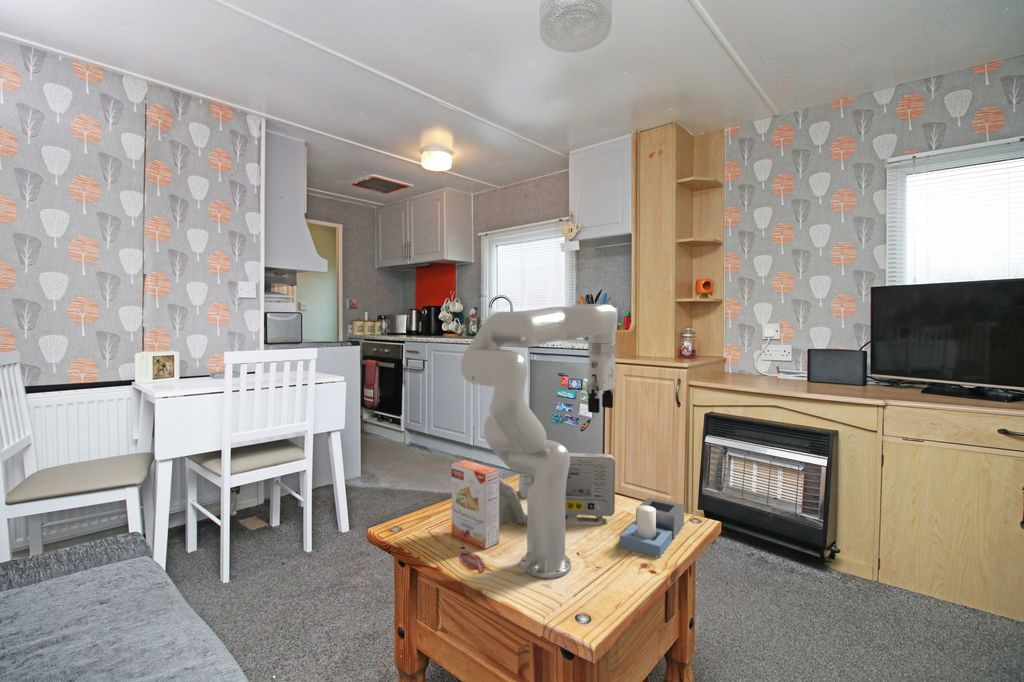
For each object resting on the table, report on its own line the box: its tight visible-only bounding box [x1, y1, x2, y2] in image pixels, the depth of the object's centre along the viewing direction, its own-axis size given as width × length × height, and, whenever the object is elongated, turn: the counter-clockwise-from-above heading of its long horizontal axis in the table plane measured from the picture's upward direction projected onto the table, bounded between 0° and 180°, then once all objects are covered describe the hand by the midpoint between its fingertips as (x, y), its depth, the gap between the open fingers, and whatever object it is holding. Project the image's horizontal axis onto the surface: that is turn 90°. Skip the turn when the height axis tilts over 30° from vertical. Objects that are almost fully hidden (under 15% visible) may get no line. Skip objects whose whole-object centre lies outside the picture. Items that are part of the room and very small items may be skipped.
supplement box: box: [518, 472, 531, 499], centre depth 175 cm, size 7×7×13 cm
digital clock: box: [499, 477, 527, 525], centre depth 155 cm, size 16×9×11 cm, turn 10°
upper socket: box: [635, 497, 685, 540], centre depth 147 cm, size 11×11×6 cm
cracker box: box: [451, 459, 500, 550], centre depth 138 cm, size 14×6×21 cm, turn 47°
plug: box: [636, 505, 656, 541], centre depth 136 cm, size 5×5×10 cm
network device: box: [531, 452, 616, 526], centre depth 154 cm, size 26×9×20 cm, turn 84°
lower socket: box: [619, 522, 673, 558], centre depth 136 cm, size 11×11×3 cm
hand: (600, 409), depth 140 cm, fingers open, 9 cm apart
